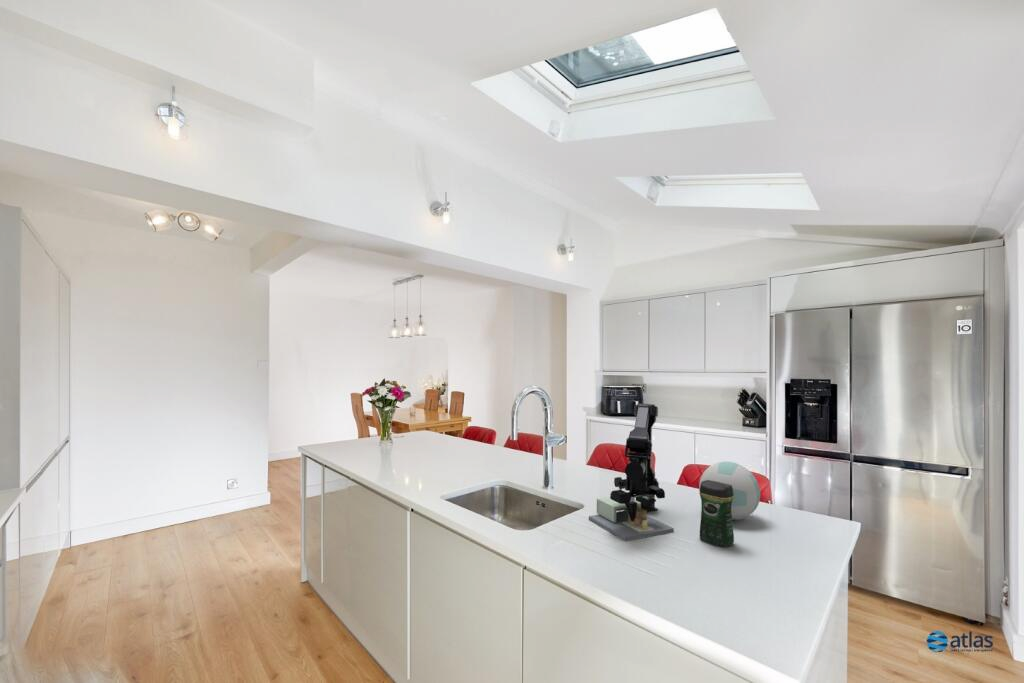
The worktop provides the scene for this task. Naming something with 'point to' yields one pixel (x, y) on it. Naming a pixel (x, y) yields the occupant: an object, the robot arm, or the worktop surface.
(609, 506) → the housing
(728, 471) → the volleyball
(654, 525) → the board
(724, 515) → the coffee jar
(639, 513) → the block
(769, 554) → the worktop surface
